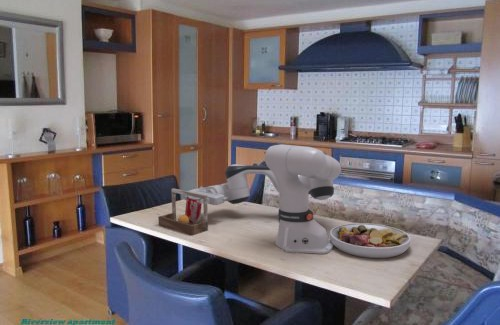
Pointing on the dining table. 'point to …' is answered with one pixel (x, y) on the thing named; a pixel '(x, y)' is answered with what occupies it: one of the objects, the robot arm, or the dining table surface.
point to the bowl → (370, 240)
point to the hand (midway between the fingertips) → (192, 200)
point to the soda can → (193, 209)
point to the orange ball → (183, 219)
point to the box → (171, 222)
